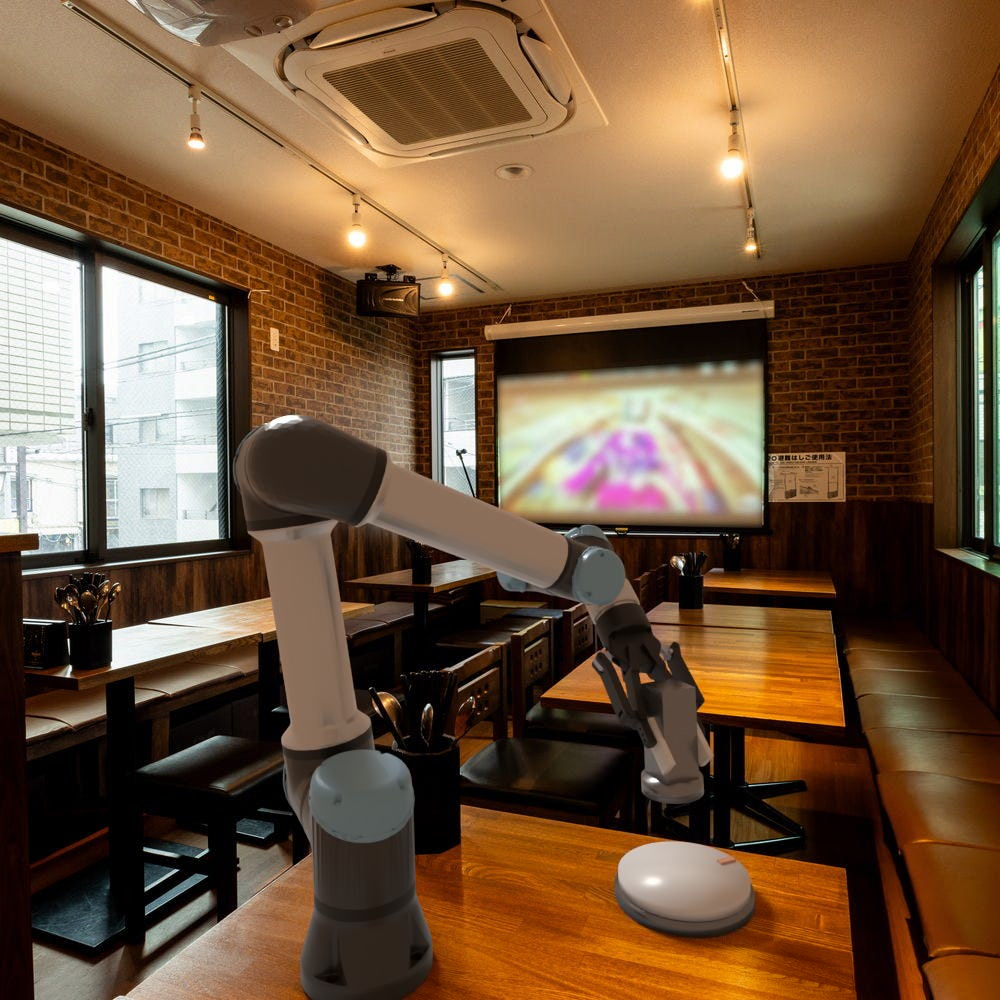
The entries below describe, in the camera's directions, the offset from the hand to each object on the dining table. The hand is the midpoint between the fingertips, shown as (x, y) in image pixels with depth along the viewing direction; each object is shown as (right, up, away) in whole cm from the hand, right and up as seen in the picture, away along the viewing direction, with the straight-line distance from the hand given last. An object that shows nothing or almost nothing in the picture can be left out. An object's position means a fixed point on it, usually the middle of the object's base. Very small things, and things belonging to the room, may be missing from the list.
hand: (688, 764), depth 94 cm
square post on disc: (-1, -5, +4) cm, 6 cm away
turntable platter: (0, -17, +4) cm, 18 cm away
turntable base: (0, -19, +4) cm, 19 cm away
